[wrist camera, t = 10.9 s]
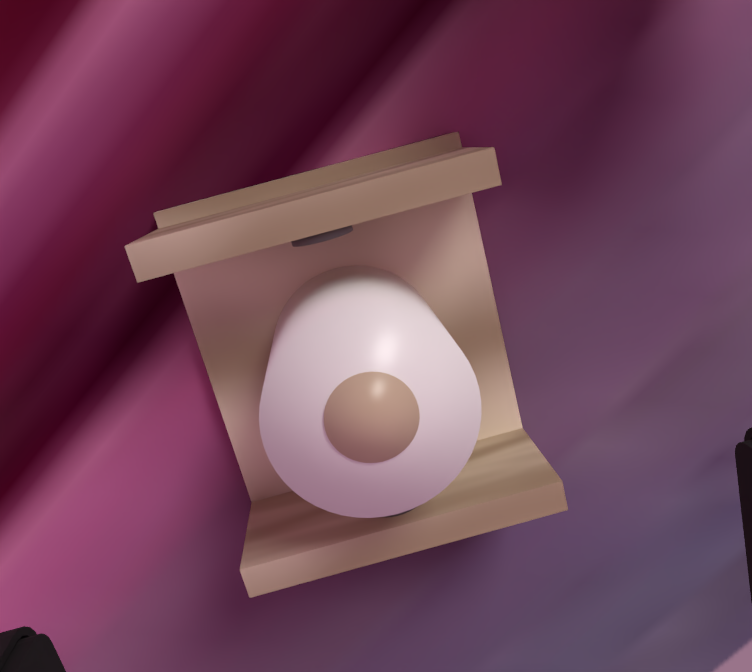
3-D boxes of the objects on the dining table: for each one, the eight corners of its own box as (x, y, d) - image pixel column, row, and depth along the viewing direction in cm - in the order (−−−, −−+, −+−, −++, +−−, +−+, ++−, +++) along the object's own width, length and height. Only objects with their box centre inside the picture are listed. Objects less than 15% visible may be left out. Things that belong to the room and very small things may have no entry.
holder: (158, 211, 23) (117, 227, 18) (453, 132, 23) (490, 127, 18) (265, 527, 26) (254, 611, 22) (524, 455, 27) (570, 524, 22)
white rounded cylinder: (252, 290, 23) (229, 343, 17) (417, 246, 23) (455, 282, 17) (299, 442, 25) (294, 544, 18) (453, 400, 25) (502, 487, 18)
